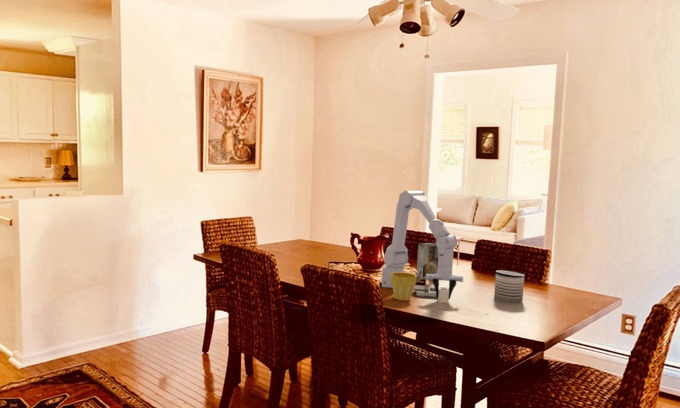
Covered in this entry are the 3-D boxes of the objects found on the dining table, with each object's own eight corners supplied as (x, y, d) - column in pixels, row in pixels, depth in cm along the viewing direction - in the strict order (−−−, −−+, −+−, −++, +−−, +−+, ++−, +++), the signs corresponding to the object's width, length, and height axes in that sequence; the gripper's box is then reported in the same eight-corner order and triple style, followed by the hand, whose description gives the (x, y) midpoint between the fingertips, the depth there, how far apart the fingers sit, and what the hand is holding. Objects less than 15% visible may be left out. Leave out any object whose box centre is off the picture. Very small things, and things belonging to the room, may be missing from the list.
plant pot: (417, 296, 230) (418, 273, 229) (412, 303, 220) (413, 278, 219) (393, 293, 234) (394, 270, 233) (386, 299, 224) (388, 275, 223)
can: (488, 297, 234) (490, 269, 232) (509, 295, 238) (511, 268, 237) (506, 305, 223) (508, 275, 222) (528, 303, 228) (530, 274, 226)
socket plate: (416, 296, 230) (416, 291, 230) (416, 290, 241) (416, 285, 241) (447, 298, 229) (447, 294, 229) (445, 292, 240) (446, 287, 239)
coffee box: (433, 275, 270) (435, 242, 268) (439, 279, 264) (441, 245, 262) (415, 276, 267) (417, 243, 265) (422, 279, 261) (424, 245, 259)
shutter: (413, 290, 233) (413, 283, 232) (413, 286, 239) (413, 279, 239) (428, 291, 232) (429, 284, 231) (428, 287, 238) (428, 280, 238)
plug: (438, 302, 223) (438, 288, 222) (437, 299, 227) (438, 286, 226) (448, 303, 222) (449, 289, 222) (447, 300, 226) (448, 287, 226)
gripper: (427, 265, 220) (425, 299, 221) (464, 268, 218) (462, 302, 220) (426, 262, 227) (424, 294, 228) (463, 264, 225) (460, 297, 227)
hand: (443, 298), depth 224 cm, fingers closed on plug, 4 cm apart
